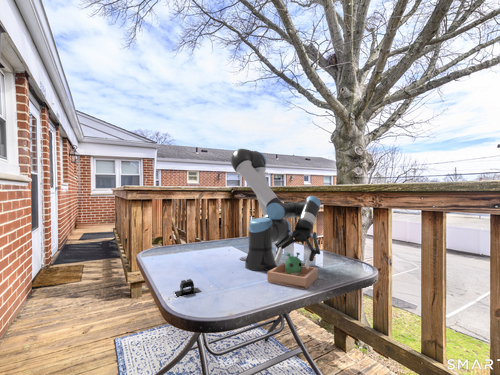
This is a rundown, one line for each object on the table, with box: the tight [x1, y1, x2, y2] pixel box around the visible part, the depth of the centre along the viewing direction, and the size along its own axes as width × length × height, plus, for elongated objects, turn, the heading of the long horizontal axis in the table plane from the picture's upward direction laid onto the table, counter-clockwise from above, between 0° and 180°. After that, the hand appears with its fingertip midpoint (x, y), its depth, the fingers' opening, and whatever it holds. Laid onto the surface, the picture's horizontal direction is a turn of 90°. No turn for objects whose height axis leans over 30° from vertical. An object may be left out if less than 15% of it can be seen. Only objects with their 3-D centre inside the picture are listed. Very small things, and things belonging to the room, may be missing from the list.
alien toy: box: [284, 252, 303, 276], centre depth 104 cm, size 7×8×10 cm
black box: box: [174, 278, 202, 298], centre depth 91 cm, size 12×7×5 cm, turn 121°
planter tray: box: [266, 262, 319, 290], centre depth 104 cm, size 16×16×4 cm
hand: (290, 264), depth 102 cm, fingers open, 13 cm apart
